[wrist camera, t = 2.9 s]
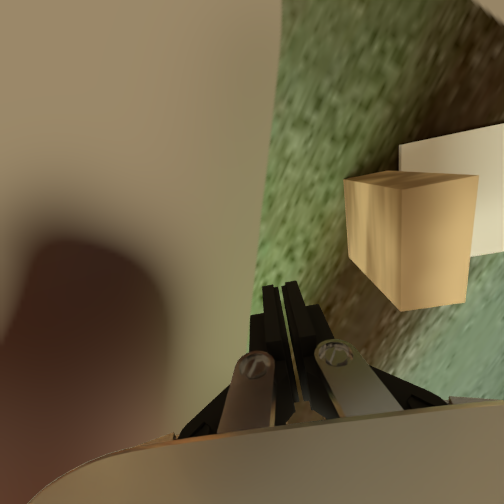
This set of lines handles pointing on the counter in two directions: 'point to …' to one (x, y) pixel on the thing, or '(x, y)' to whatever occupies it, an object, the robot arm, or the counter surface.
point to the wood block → (412, 234)
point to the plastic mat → (470, 163)
